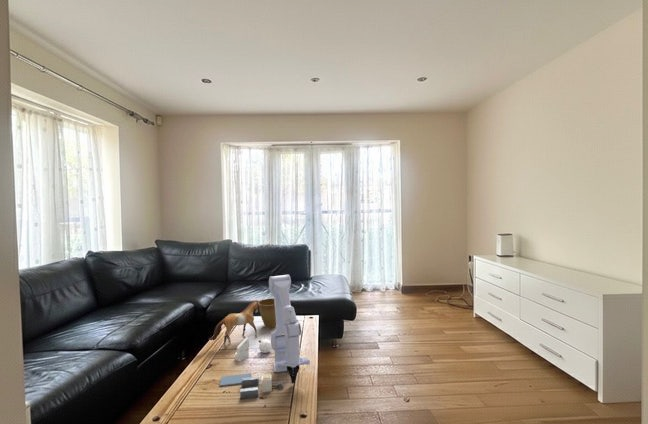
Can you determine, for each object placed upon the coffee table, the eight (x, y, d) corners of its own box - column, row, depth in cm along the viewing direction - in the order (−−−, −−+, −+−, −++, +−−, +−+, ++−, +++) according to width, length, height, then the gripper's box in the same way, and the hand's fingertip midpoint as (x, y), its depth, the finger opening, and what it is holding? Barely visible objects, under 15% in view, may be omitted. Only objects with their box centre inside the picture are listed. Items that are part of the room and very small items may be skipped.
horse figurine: (257, 332, 187) (257, 299, 187) (264, 336, 182) (264, 302, 182) (208, 348, 166) (208, 311, 166) (214, 353, 160) (214, 315, 160)
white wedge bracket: (255, 349, 159) (248, 337, 156) (241, 365, 153) (234, 353, 149) (251, 347, 162) (244, 335, 158) (237, 363, 155) (229, 351, 151)
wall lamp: (282, 384, 131) (282, 372, 131) (282, 389, 127) (282, 377, 127) (262, 386, 129) (261, 374, 129) (261, 392, 125) (261, 379, 125)
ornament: (267, 356, 156) (258, 345, 156) (262, 355, 162) (254, 345, 162) (276, 346, 160) (267, 335, 160) (271, 346, 166) (263, 336, 166)
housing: (258, 383, 132) (258, 376, 132) (258, 397, 122) (258, 389, 122) (242, 385, 131) (242, 378, 131) (240, 399, 121) (240, 391, 121)
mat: (251, 374, 139) (251, 373, 139) (250, 382, 132) (250, 381, 132) (221, 377, 137) (221, 376, 137) (219, 386, 130) (219, 385, 130)
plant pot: (274, 319, 208) (273, 296, 208) (285, 326, 197) (285, 301, 197) (254, 325, 199) (254, 301, 199) (265, 332, 187) (265, 306, 187)
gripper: (276, 357, 124) (276, 389, 125) (310, 353, 127) (311, 385, 127) (275, 349, 131) (275, 380, 132) (308, 346, 134) (308, 376, 134)
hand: (293, 382), depth 130 cm, fingers closed
